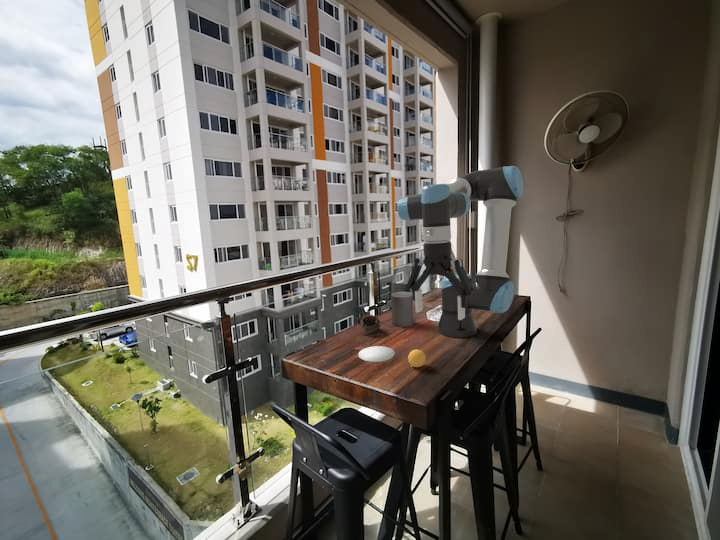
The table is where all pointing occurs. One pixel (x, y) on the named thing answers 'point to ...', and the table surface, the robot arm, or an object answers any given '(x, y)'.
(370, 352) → the disc
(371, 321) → the pottery mug
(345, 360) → the table surface
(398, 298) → the pillar candle
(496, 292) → the robot arm
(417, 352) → the ball
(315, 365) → the table surface
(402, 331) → the table surface
